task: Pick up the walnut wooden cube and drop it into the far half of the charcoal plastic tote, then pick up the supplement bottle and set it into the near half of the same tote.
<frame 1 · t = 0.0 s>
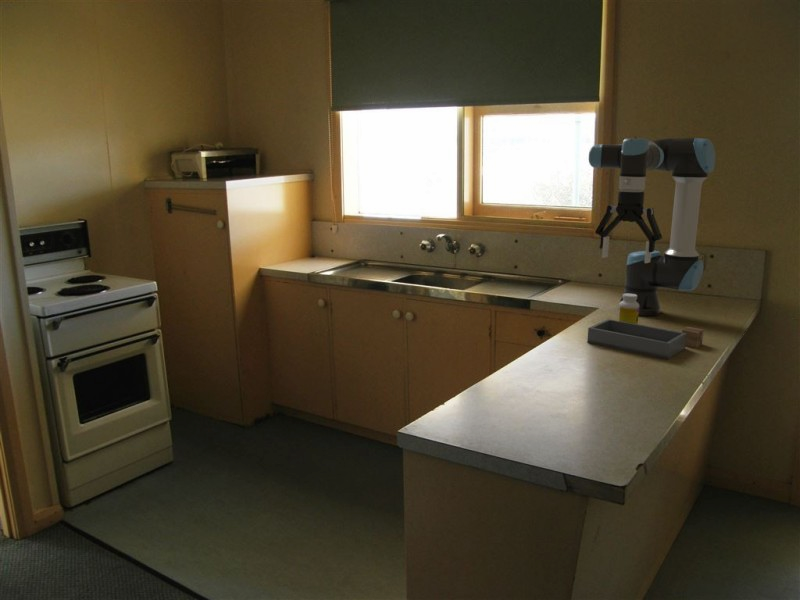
hand: (625, 260, 216), 28 cm above the worktop, fingers open, 13 cm apart
walnut cube: (691, 344, 226), on the worktop
supplement bottle: (626, 331, 240), on the worktop
tote: (635, 345, 224), on the worktop
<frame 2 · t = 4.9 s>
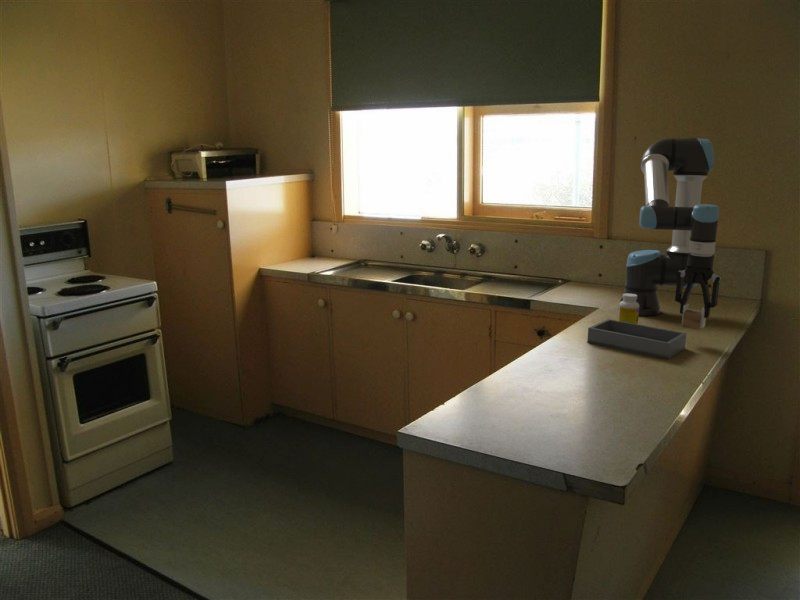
hand: (693, 325, 225), 6 cm above the worktop, fingers closed on walnut cube, 5 cm apart
walnut cube: (692, 326, 225), point 6 cm above the worktop, touching gripper
everything else where it was.
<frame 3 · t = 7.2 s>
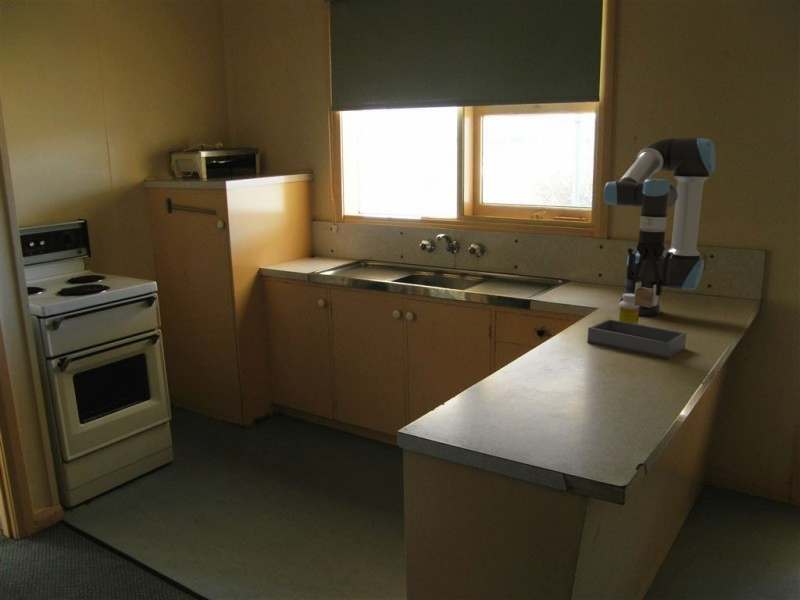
hand: (645, 303, 219), 14 cm above the worktop, fingers closed on walnut cube, 5 cm apart
walnut cube: (645, 305, 219), point 14 cm above the worktop, touching gripper
everything else where it was.
when the fingers open (2 cm above the worktop, at t = 9.5 s): walnut cube stays where it is, resting on tote.
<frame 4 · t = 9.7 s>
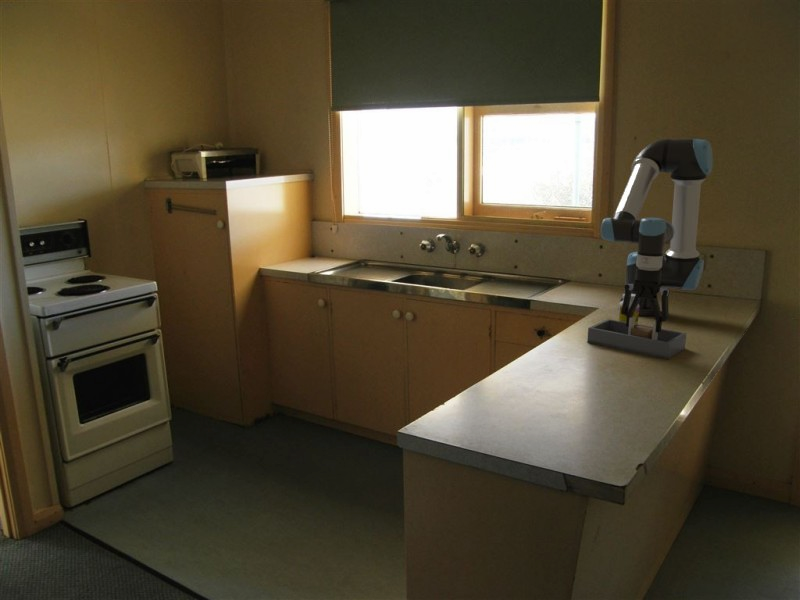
hand: (642, 339, 222), 3 cm above the worktop, fingers open, 7 cm apart
walnut cube: (641, 343, 222), point 1 cm above the worktop, touching tote
everything else where it was.
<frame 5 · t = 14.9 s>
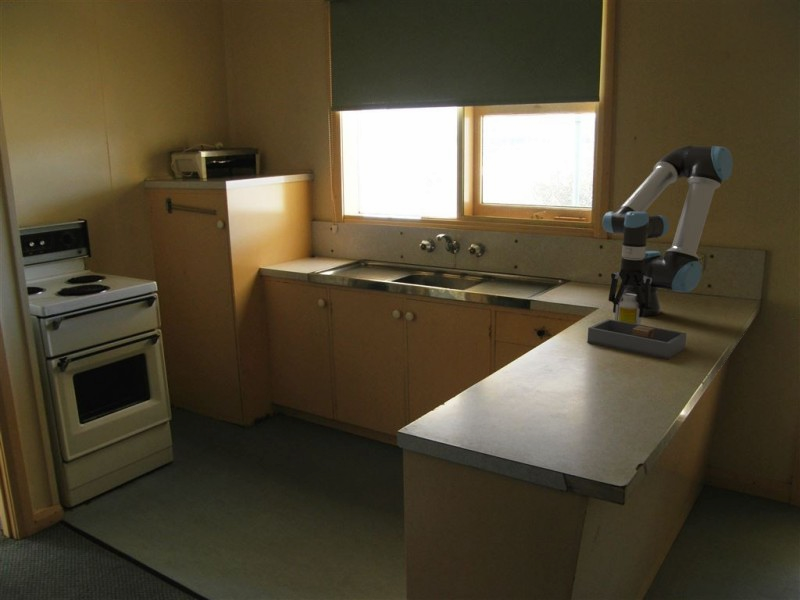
hand: (627, 324, 240), 3 cm above the worktop, fingers closed on supplement bottle, 7 cm apart
supplement bottle: (626, 331, 240), on the worktop, touching gripper
everything else where it was.
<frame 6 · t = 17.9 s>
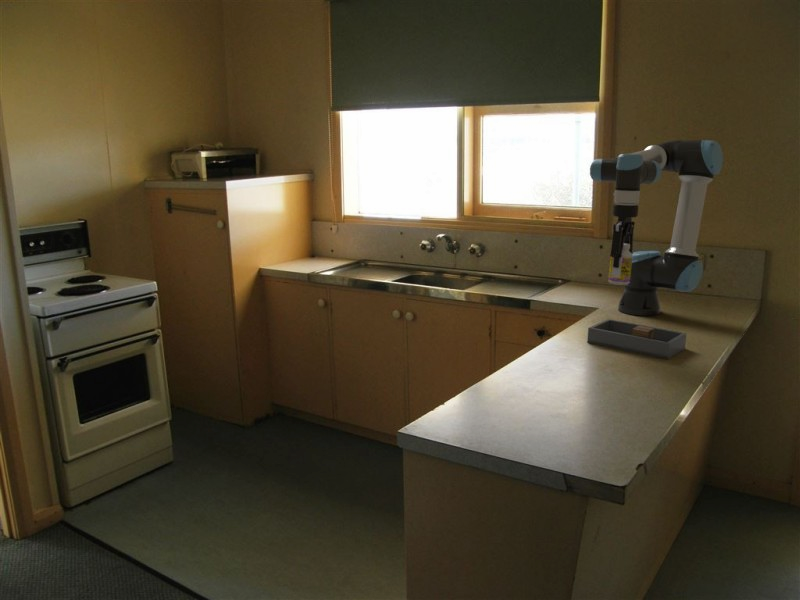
hand: (619, 275, 225), 22 cm above the worktop, fingers closed on supplement bottle, 7 cm apart
supplement bottle: (618, 283, 226), point 19 cm above the worktop, touching gripper
everything else where it was.
when the fingers open (6 cm above the worktop, at t = 21.3 s): supplement bottle drops 3 cm, resting on tote.
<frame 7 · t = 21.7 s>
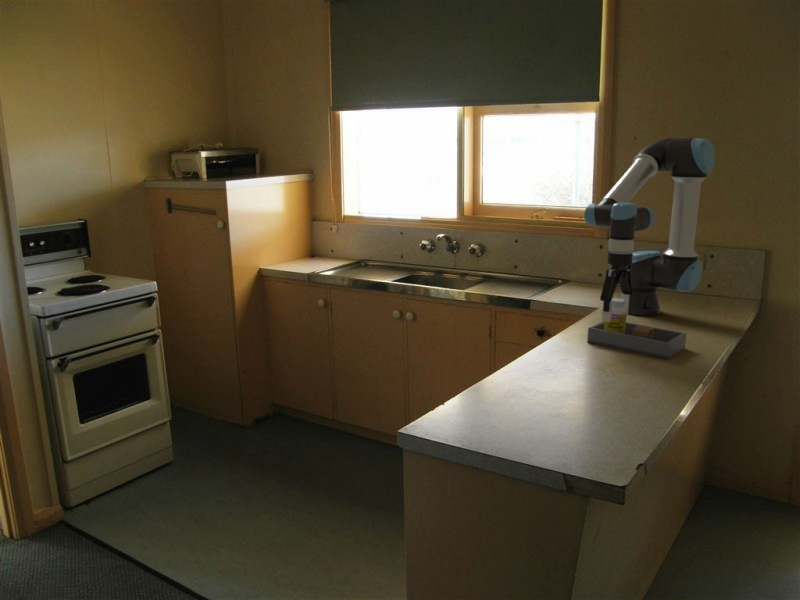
hand: (615, 317, 227), 8 cm above the worktop, fingers open, 12 cm apart
supplement bottle: (613, 338, 229), point 1 cm above the worktop, touching tote
everything else where it was.
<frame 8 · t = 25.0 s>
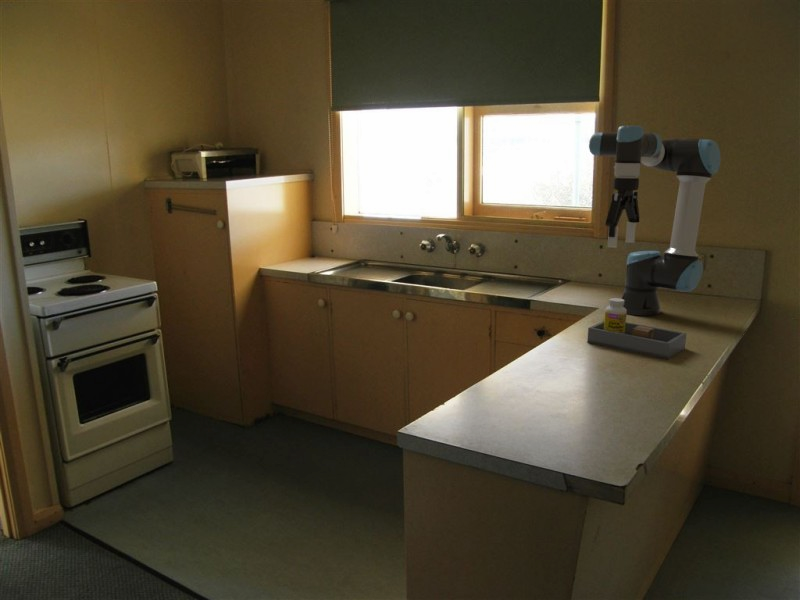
hand: (621, 245, 221), 32 cm above the worktop, fingers open, 13 cm apart
nothing on the worktop moved.
at the end: walnut cube inside the target area on the tote (2.0 cm from its centre), point 1.0 cm above the tote's base; supplement bottle inside the target area on the tote (7.5 cm from its centre), point 0.8 cm above the tote's base; the gripper is holding nothing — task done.
